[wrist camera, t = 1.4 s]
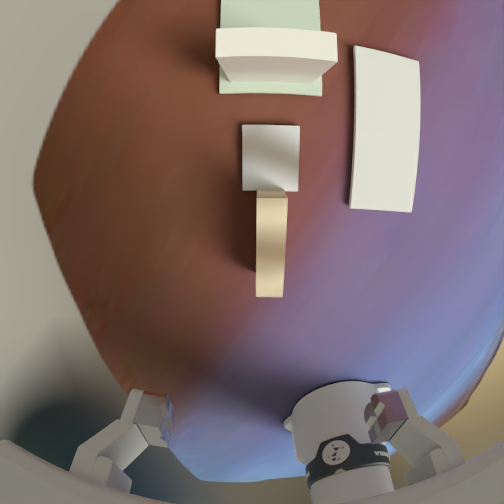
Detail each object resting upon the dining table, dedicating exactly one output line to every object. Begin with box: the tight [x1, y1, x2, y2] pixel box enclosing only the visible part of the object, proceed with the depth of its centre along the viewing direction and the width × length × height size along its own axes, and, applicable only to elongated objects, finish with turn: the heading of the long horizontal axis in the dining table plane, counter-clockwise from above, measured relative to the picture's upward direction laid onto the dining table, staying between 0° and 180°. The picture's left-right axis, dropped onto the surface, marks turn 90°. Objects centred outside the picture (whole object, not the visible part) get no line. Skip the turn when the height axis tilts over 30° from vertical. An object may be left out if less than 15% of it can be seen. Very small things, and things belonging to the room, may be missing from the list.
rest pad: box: [349, 46, 420, 212], centre depth 22 cm, size 16×7×1 cm, turn 0°
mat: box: [219, 0, 322, 96], centre depth 19 cm, size 13×9×1 cm
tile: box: [216, 27, 338, 85], centre depth 17 cm, size 2×7×9 cm, turn 90°
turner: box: [242, 125, 300, 297], centre depth 24 cm, size 15×5×4 cm, turn 0°
